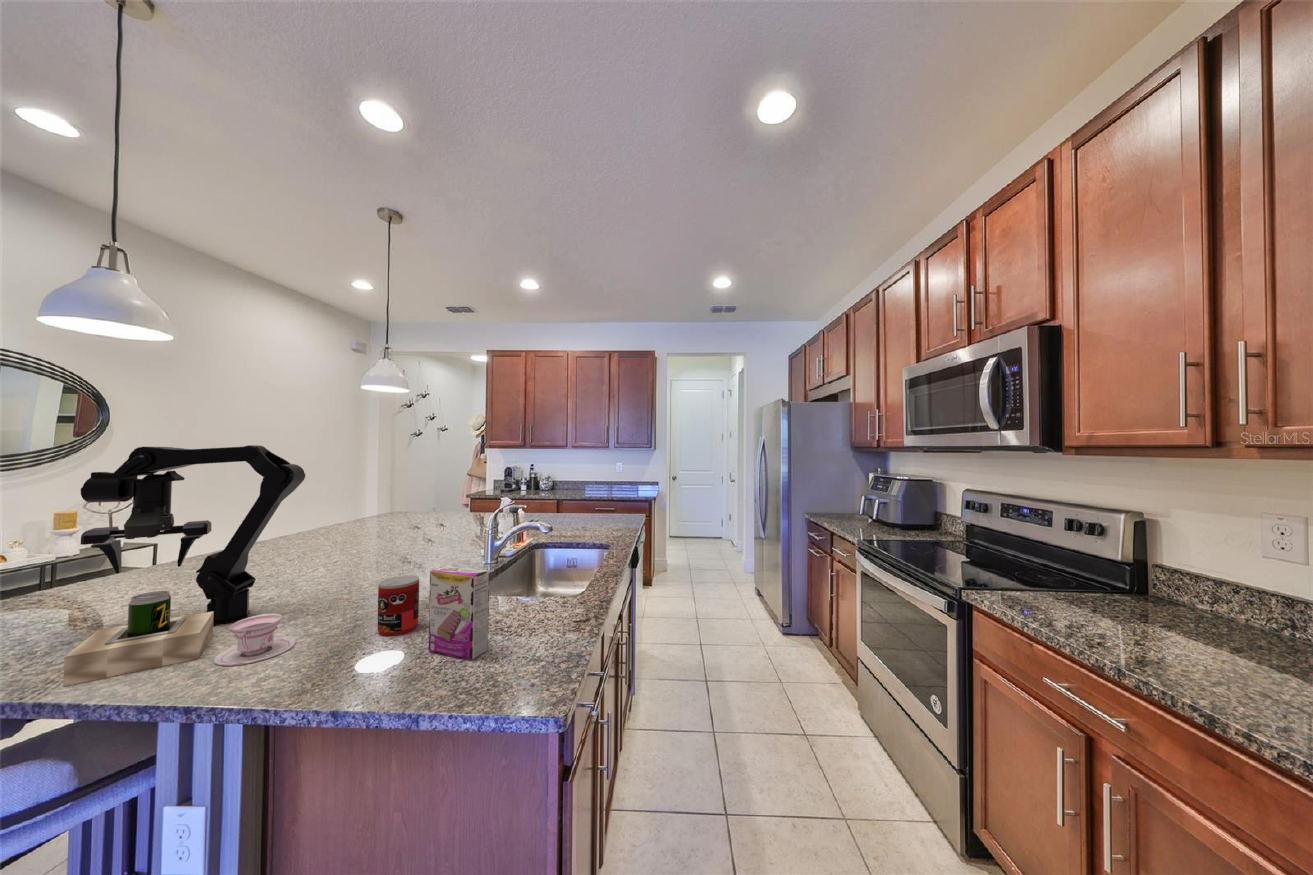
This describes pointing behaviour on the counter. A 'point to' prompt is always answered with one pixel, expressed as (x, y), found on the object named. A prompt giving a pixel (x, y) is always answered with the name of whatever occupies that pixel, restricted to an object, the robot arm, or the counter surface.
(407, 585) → the canned food
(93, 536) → the robot arm
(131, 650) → the socket block
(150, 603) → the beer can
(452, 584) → the candy bar box
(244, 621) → the teacup
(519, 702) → the counter surface
